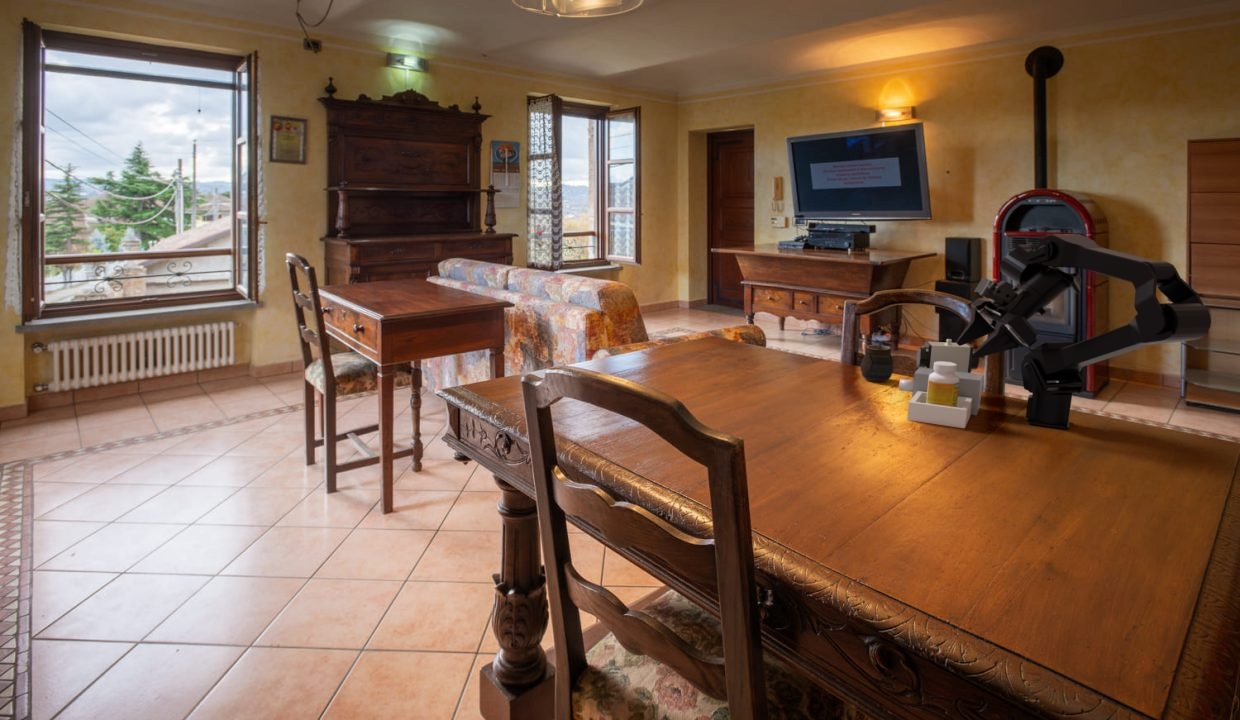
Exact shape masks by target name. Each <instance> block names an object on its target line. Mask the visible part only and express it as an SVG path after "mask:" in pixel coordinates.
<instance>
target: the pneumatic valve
mask: <svg viewBox="0 0 1240 720" xmlns="http://www.w3.org/2000/svg"><path fill="white" fill-rule="evenodd" d="M976 350H977V349H975V348H974V346H973V345H971V344H969V343H967V344H964V345H961V346H959V345H958V344H957V343H956V342H952V339H951V338H947V339H946V342H943V341H942V342H941V341H940V342H939V341H924V345H922V346H918V348H917V352H916V366H917V368H919V367H920V368H929V369H934V368H933V367H934V362H938V361H944V362H952V363H955V364H957V369H956V371H957V372H966V373H972V372H973V370H974V371H975V370H977V369H978V367H979V366H980V365H979V364H980V358H976V357H975V356H974V355H973V353H974V352H975V351H976Z"/></svg>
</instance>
